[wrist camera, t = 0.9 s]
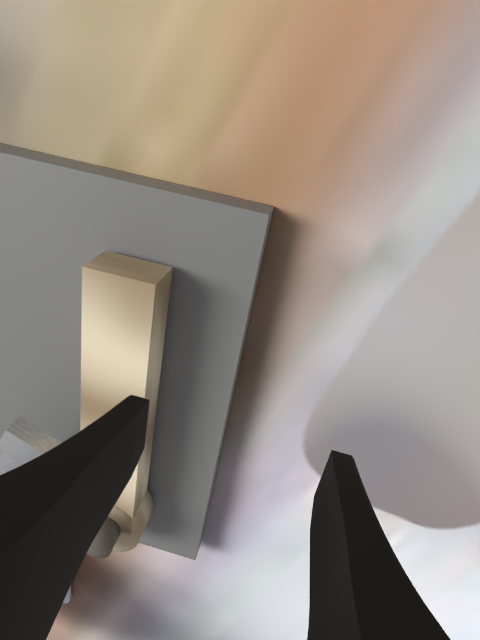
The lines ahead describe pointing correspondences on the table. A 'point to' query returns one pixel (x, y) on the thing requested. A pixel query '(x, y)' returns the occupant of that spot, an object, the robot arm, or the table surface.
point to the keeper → (23, 444)
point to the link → (123, 370)
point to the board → (182, 317)
